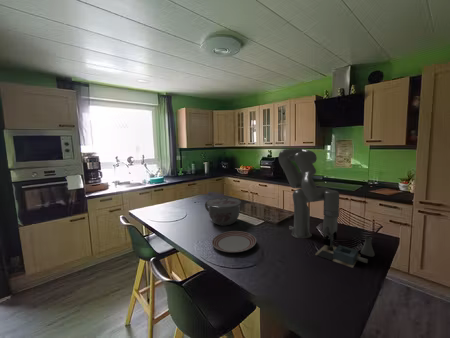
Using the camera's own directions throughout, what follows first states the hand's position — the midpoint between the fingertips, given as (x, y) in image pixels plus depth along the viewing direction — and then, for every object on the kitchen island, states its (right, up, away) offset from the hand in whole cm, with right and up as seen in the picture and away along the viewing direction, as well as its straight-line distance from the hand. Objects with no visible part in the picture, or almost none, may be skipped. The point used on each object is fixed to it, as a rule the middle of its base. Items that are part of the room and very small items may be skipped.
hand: (330, 242), depth 117 cm
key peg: (0, -4, 0) cm, 4 cm away
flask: (+18, -6, -5) cm, 19 cm away
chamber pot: (-60, -2, +50) cm, 78 cm away
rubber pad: (-5, -5, -6) cm, 9 cm away
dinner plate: (-53, -6, +13) cm, 55 cm away
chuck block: (+5, -5, -10) cm, 13 cm away
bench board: (+2, -6, -5) cm, 8 cm away
